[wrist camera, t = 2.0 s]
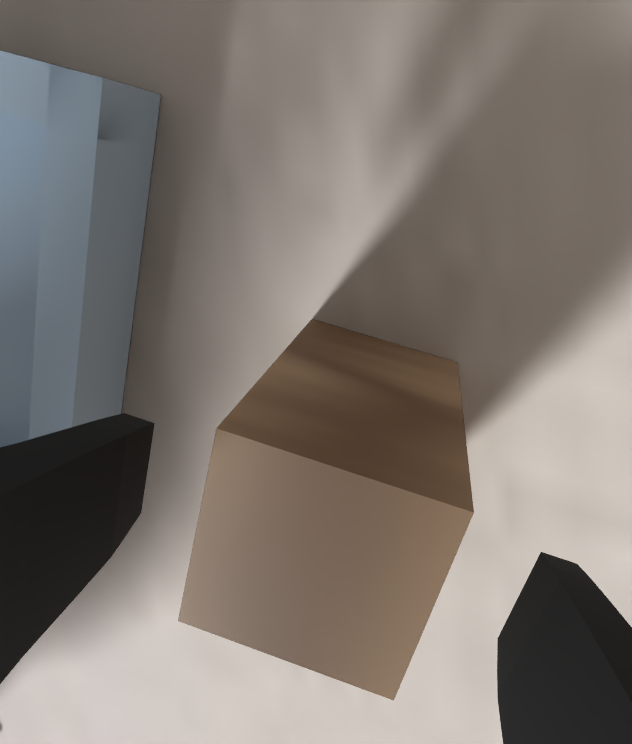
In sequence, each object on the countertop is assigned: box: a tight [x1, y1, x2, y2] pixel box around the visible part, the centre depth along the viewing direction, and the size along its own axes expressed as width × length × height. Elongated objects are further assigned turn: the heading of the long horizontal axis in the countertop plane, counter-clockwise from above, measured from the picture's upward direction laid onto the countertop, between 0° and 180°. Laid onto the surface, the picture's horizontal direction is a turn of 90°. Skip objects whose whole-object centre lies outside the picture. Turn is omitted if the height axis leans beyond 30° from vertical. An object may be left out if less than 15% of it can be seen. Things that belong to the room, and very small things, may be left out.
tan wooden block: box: [178, 319, 474, 700], centre depth 12 cm, size 4×4×7 cm
